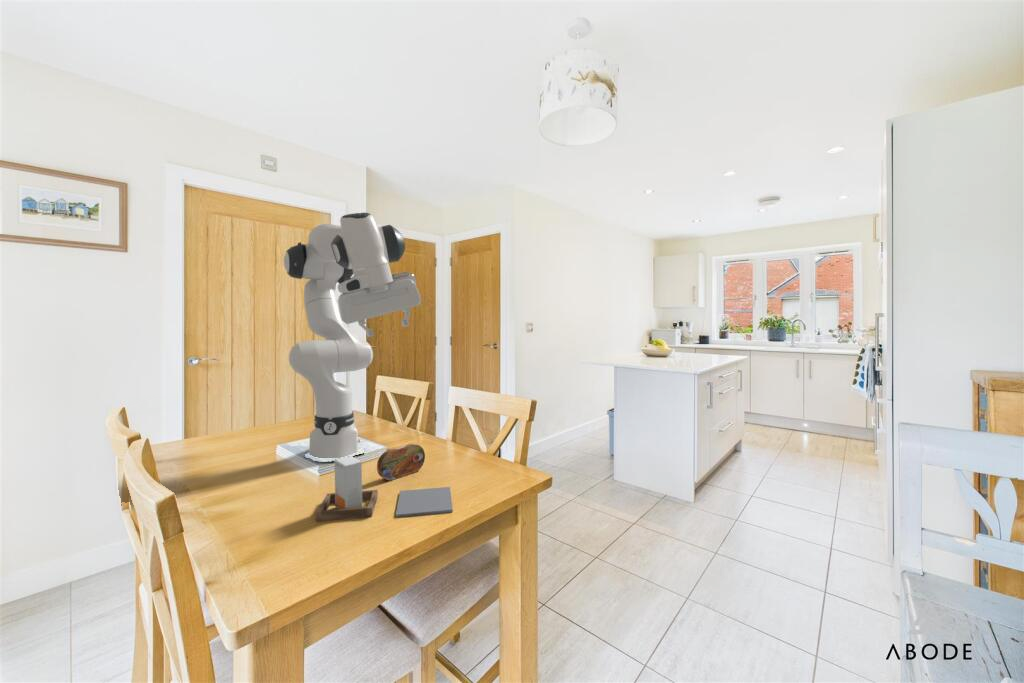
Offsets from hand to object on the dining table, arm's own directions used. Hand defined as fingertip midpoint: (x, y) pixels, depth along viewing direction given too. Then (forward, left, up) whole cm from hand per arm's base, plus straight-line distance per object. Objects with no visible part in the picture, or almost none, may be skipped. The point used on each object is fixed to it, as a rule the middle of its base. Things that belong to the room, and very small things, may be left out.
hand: (389, 331), depth 102 cm
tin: (-11, +2, -43) cm, 44 cm away
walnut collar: (+8, -9, -43) cm, 44 cm away
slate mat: (+8, +9, -43) cm, 44 cm away
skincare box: (+8, -9, -43) cm, 45 cm away
